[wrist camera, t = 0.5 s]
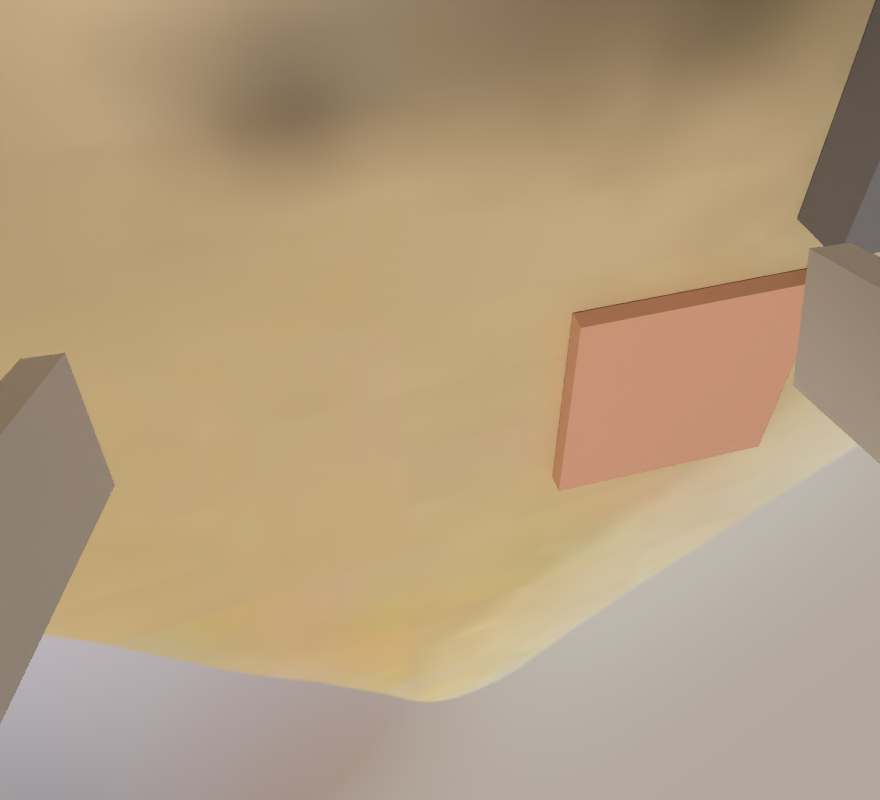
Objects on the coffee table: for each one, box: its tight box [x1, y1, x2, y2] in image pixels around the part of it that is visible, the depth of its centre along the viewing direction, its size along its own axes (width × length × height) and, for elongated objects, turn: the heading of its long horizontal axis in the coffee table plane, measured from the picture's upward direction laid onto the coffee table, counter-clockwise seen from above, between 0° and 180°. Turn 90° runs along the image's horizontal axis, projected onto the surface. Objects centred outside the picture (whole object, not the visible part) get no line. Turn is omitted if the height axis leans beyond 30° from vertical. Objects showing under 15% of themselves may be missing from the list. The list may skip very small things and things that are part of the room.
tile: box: [553, 269, 807, 491], centre depth 39 cm, size 12×12×1 cm
